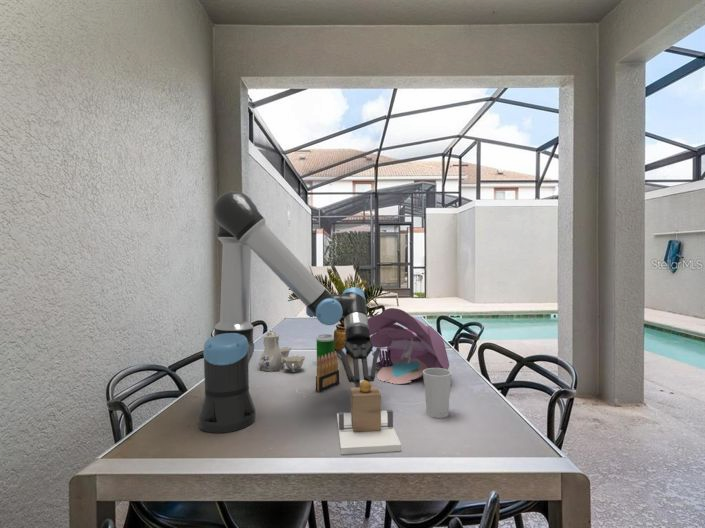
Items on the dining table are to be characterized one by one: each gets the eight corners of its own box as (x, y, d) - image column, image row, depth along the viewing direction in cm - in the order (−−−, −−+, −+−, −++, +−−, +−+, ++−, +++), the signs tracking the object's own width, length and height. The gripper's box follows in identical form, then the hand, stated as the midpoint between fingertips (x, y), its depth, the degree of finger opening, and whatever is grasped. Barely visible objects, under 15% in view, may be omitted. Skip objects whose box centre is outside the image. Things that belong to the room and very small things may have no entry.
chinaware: (311, 376, 154) (314, 333, 155) (271, 379, 145) (275, 334, 146) (283, 360, 178) (286, 324, 178) (247, 362, 169) (250, 324, 169)
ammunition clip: (319, 392, 130) (319, 357, 130) (315, 391, 132) (314, 356, 131) (339, 384, 139) (339, 350, 139) (335, 383, 140) (335, 349, 140)
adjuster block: (351, 421, 103) (350, 377, 103) (377, 420, 104) (376, 376, 104) (353, 431, 97) (352, 385, 97) (381, 430, 98) (380, 383, 98)
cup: (434, 421, 107) (433, 377, 107) (417, 410, 114) (417, 370, 114) (457, 416, 110) (457, 373, 110) (440, 406, 117) (440, 366, 117)
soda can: (338, 364, 164) (337, 336, 164) (322, 367, 160) (322, 338, 159) (328, 360, 170) (328, 333, 170) (313, 363, 166) (313, 335, 166)
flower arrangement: (355, 390, 147) (340, 319, 142) (379, 362, 167) (367, 299, 163) (447, 396, 130) (433, 315, 126) (462, 364, 150) (450, 293, 146)
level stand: (336, 418, 109) (336, 399, 109) (386, 416, 111) (386, 396, 111) (341, 454, 90) (340, 430, 89) (401, 451, 91) (400, 427, 91)
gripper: (376, 337, 124) (386, 409, 108) (335, 338, 123) (339, 412, 107) (379, 323, 119) (390, 397, 103) (336, 324, 118) (340, 399, 101)
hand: (364, 404), depth 105 cm, fingers closed
